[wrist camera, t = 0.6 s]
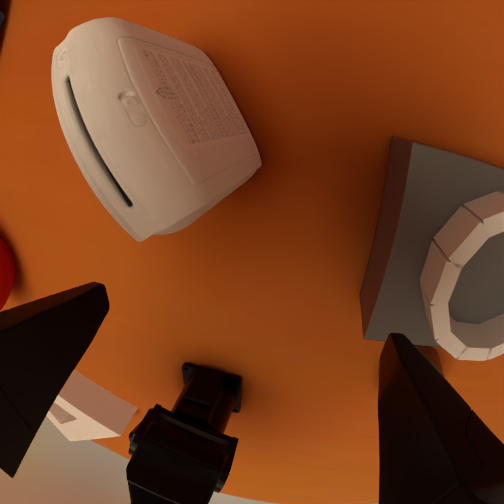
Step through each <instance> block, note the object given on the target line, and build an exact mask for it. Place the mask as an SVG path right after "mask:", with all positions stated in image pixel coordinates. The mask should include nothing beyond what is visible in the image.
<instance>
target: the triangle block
mask: <svg viewBox="0 0 504 504" xmlns="http://www.w3.org/2000/svg"><path fill="white" fill-rule="evenodd" d="M137 409H138V408H137V407H135V406H134V405H132V404H130V403H128V402H126V401H125V400H123V399H121V398H119V397H117V396H116V395H114V394H112V393H111V392H109V391H107V390H106V389H104V388H102V387H101V386H99V385H98V384H96V383H94V382H93V381H91V380H90V379H88V378H87V377H85V376H83V375H82V374H80V373H79V372H77V371H76V370H75V369H74V370H73V372H72V373H71V375H70V377H69V378H68V380H67V381H66V383H65V385H64V386H63V388H62V390H61V391H60V393H59V395H58V396H57V398H56V400H55V401H54V403H53V405H52V406H51V408H50V410H49V411H48V413H47V415H46V416H47V417H48V418H49V419H50V420H51V422H53V424H54V425H55V426H56V427H57V428H58V429H59V430H60V431H61V432H62V433H63V435H64V436H65V437H66V438H67V439H68V440H69V441H77V440H88V439H99V438H107V437H115V436H121V435H122V433H123V432H124V430H125V428H126V427H127V425H128V424H129V422H130V420H131V419H132V417H133V415H134V414H135V412H136V411H137Z"/></svg>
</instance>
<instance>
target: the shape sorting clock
mask: <svg viewBox="0 0 504 504" xmlns="http://www.w3.org/2000/svg"><path fill="white" fill-rule="evenodd" d="M4 18H5V15H4V14H3V13H2V12H1V11H0V26H1V24H2V22H3V20H4Z"/></svg>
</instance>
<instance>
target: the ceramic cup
mask: <svg viewBox="0 0 504 504" xmlns="http://www.w3.org/2000/svg"><path fill="white" fill-rule="evenodd" d="M15 273H16V268H15V263H14V259H13V256H12V254H11V252H10V250H9V248H8V246H7V244H6V243H5V242H4V240H3V239H2V238H0V310H1V309H2V308H3V306H4V305H5V303H6V301H7V299H8V297H9V295H10V292H11V289H12V286H13V281H14V276H15Z"/></svg>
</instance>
